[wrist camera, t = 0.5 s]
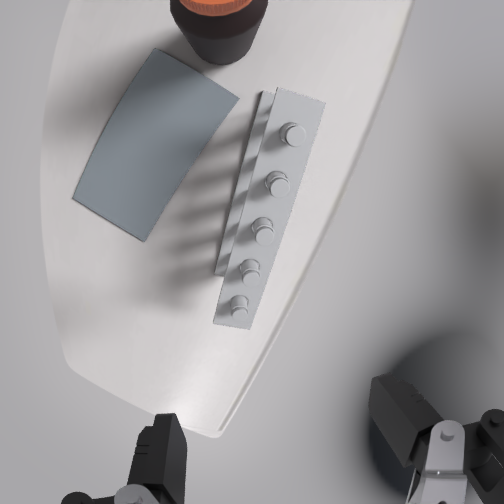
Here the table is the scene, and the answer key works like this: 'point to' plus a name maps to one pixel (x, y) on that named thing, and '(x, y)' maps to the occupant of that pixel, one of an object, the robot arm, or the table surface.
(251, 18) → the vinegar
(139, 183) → the slate mat
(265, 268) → the test tube rack
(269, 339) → the table surface
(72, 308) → the table surface
